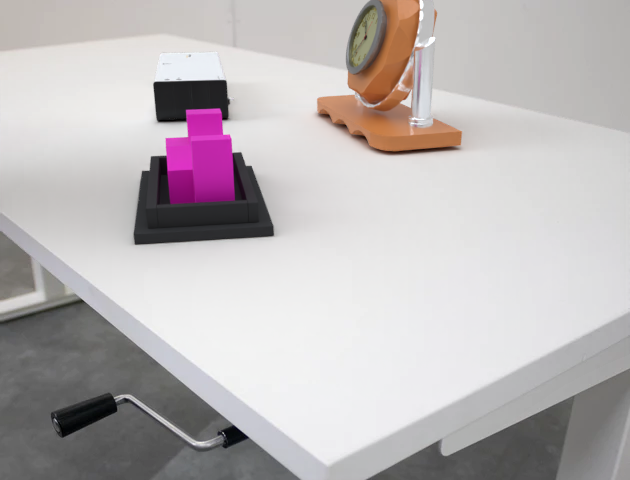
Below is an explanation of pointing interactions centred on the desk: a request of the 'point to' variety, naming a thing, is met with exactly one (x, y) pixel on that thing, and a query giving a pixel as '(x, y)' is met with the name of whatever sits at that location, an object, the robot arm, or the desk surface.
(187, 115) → the toy block
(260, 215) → the socket pad
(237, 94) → the desk surface
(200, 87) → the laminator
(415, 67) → the desk clock
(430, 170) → the desk surface
